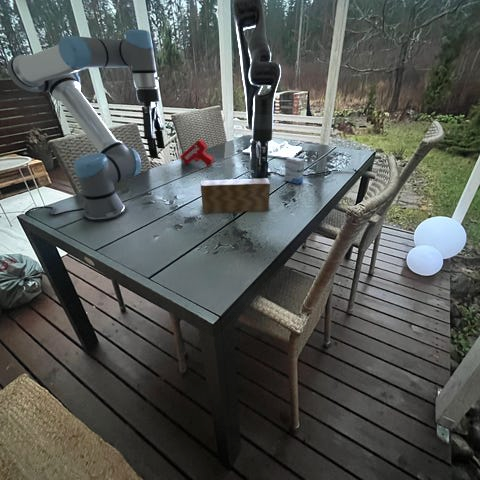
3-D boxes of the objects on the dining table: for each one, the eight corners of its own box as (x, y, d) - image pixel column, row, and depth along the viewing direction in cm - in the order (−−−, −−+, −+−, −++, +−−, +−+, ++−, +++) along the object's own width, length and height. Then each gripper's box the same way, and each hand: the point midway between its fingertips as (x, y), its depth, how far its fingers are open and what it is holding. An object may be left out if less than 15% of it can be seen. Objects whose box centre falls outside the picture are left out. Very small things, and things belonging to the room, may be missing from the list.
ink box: (302, 181, 142) (305, 159, 136) (297, 184, 139) (300, 161, 133) (289, 177, 147) (291, 156, 141) (284, 180, 144) (285, 158, 138)
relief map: (291, 159, 177) (291, 151, 174) (243, 153, 190) (243, 145, 187) (302, 149, 197) (303, 142, 194) (258, 144, 211) (258, 137, 208)
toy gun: (217, 159, 165) (202, 138, 161) (214, 161, 162) (199, 139, 158) (197, 174, 175) (183, 155, 171) (194, 176, 172) (179, 156, 168)
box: (266, 204, 120) (267, 178, 113) (268, 210, 115) (270, 183, 108) (203, 206, 118) (201, 180, 112) (203, 212, 113) (200, 185, 107)
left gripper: (150, 91, 80) (162, 162, 92) (164, 85, 101) (172, 144, 113) (124, 91, 80) (139, 163, 91) (144, 86, 101) (154, 144, 112)
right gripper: (276, 130, 93) (273, 175, 102) (269, 123, 105) (267, 164, 114) (254, 130, 93) (253, 176, 102) (250, 123, 105) (249, 164, 114)
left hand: (158, 152), depth 102 cm, fingers open, 13 cm apart
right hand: (260, 169), depth 108 cm, fingers open, 8 cm apart
